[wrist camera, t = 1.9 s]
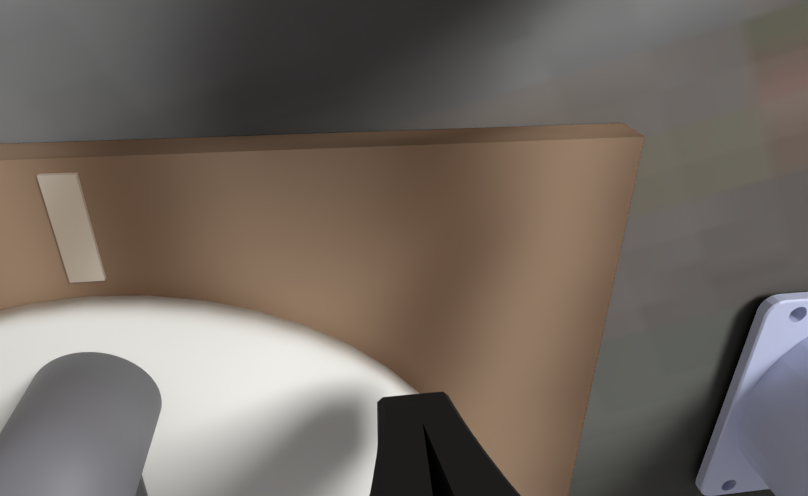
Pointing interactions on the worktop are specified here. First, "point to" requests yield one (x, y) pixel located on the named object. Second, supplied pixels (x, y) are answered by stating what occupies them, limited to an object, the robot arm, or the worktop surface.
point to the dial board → (360, 253)
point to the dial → (182, 402)
